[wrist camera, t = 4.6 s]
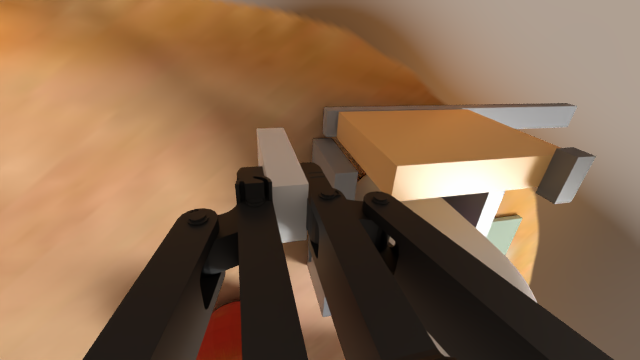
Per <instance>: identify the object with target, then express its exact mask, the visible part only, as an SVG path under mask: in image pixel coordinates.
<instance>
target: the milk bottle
mask: <svg viewBox="0 0 640 360" xmlns="http://www.w3.org/2000/svg"><path fill="white" fill-rule="evenodd" d="M374 191H380V189H379V188H378V187H377V186H376V185H375V183H374V182H373V181H372V180H371V179H370V177H369V176H368V175H365V176H364V177H362V178H361V179H360V180H359V181H358V182H357V185H356V193H355V201H363V198H364V196H365V194H367V193H369V192H374ZM380 192H381V191H380ZM400 202H401V203H403V204H404V205H405V206H407V207H408V208H409V209H411V210H412V211H413V212H415V213H416V214H417V215H419V216H420V217H422V218H423V219H424V220H426V221H427V222H428V223H430V224H431V225H432V226H434V227H435V228H436V229H438V230H439V231H440V232H442V233H443V234H445V235H446V236H447V237H449V238H450V239H451V240H453V241H454V242H455V243H457V244H458V245H459V246H461V247H462V248H463V249H465V250H466V251H468V252H469V253H470V254H472V255H473V256H474V257H476V258H477V259H478V260H480V261H481V262H482V263H484V264H485V265H486V266H488V267H489V268H491V269H492V270H493V271H495V272H496V273H497V274H499V275H500V276H501V277H503V278H504V279H505V280H507V281H508V282H509V283H511V284H512V285H513V286H515V287H516V288H518V289H519V290H520V291H522V292H523V293H524V294H526V295H527V296H528V297H530V298H531V299H532V300H534V301H535V302H536V303H537V301H536V299H535V297H534V295H533V293H532V291H531V289H530V287H529V286H528V284H527V282H526V281H525V279H524V278H523V277H522V275H521V274H520V272H519V271H518V270H517V269H516V267H515V266H514V265H513V264H512V263H511V262H510V261H509V259H508V258H507V257H506V256H505V255H504V254H503V253H502V252H501V251H500V250H499V249H498V248H497V247H495V246H494V245H493V244H492V243H491V242H490V241H489V240H488V239H487V238H486V237H485V236H484V235H483V234H482V233H481V232H479V231H478V230H477V229H476V228H475V227H474V226H473V225H472V224H471V223H470V222H468V221H467V220H466V219H465V218H464V217H463V216H462V215H461V214H460V213H458V212H457V211H456V210H455V209H454V208H453V207H452V206H451V205H449V204H448V203H447V202H446V201H445V200H444V199H443V198H441V197H436V198H426V199H417V200H407V201H400ZM389 242H390V243H391V244H392V245H395V241H394V240H393V239H392V238H391V237H390V239H389ZM428 334H429V333H428ZM429 336H430V337H431V339H432V340H433V342H434V344H435V345H436V347H437V349H438V350H439V351H440V353H441V354H443V355H444V356H447V357H450V356H449V355H448V354H447V353H446V352H445V351H444V350H443V349H442V347H441V346H440V345H439V344H438V343H437V342H436V341H435V340H434V338H433V337H432V336H431V335H430V334H429Z"/></svg>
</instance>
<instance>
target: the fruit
mask: <svg viewBox="0 0 640 360" xmlns="http://www.w3.org/2000/svg"><path fill="white" fill-rule="evenodd" d="M196 360H242V341H241V311H240V301H236V302H232V303H229V304H226V305H223V306H221V307H220V308H218V309H217V310H215V311H214V312H213V313H212V314H211V317H210V320H209V323H208V326H207V329H206V332H205V335H204V338H203V341H202V343H201V346H200V349H199V352H198V355H197V358H196Z"/></svg>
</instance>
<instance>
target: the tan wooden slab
mask: <svg viewBox="0 0 640 360" xmlns="http://www.w3.org/2000/svg"><path fill="white" fill-rule="evenodd" d="M337 139H338V140H339V142H340V143H341V144H342V145H343V146H344V147H345V149H346V150H347V151H348V152H349V153H350V155H351V156H352V157H353V158H354V159H355V161H356V162H357V163H358V164H359V165H360V167H361V168H362V169H363V170H364V171H365V173H366V174H367V175H368V176H369V177H370V179H371V180H372V181H373V182H374V183H375V185H376V186H377V187H378V188H379V189H380V191H381V192H384V193H387V194H390V195H391V196H393V197H395V198H396V199H397V200H399V201H407V200H417V199H426V198H436V197H446V196H456V195H465V194H475V193H485V192H494V191H504V190H514V189H524V188H533V187H538V189H537V191H536V193H537V194H538V195H540V196H542V197H543V198H545V199H547V200H549V201H550V202H552V203H553V204H559V203H568V202H571V201H572V199H573V198H574V196H575V194H576V192H577V190H578V188H579V186H580V185H581V182H582V181H583V179H584V177H585V176H586V174H587V172H588V170H589V168H590V166H591V165H592V163H593V161H594V159H595V157H596V156H594V155H592V154H589V153H586V152H584V151H581V150H579V149H576V148H574V147H570V148H560V147H558V146H556V145H553V144H551V143H548V142H546V141H544V140H541V139H539V138H536V137H534V136H531V135H529V134H526V133H524V132H521V131H519V130H517V129H514V128H512V127H509V126H507V125H505V124H502V123H500V122H497V121H495V120H492V119H490V118H488V117H485V116H483V115H480V114H478V113H475V112H473V111H470V110H468V109H455V110H405V111H354V112H339V115H338V127H337Z"/></svg>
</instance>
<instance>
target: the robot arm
mask: <svg viewBox="0 0 640 360" xmlns="http://www.w3.org/2000/svg"><path fill="white" fill-rule="evenodd" d="M257 147H258V166H259V167H243V168H240V170H239V171H238V172H237V181H236V184H235V189H236V199H237V205H236V206H235V208H233V209H232V210H231V211H229V212H227V213H224V214H221V215H217V214H216V212H215V211H213V210H211V209H204V208H203V209H194V210H191V211H188V212H186V213H184V214H182V215H181V216H180V217H179V218H178V219H177V221H176V222H175V224H174V225H173V227H172V228H171V230H170V231H169V233H168V234H167V236H166V237H165V239H164V240H163V242H162V243H161V245H160V246H159V247H158V249H157V250H156V252H155V253H154V255H153V256H152V258H151V259H150V261H149V262H148V264H147V265H146V267H145V268H144V270H143V271H142V273H141V274H140V276H139V277H138V278H137V280H136V281H135V283H134V284H133V286H132V287H131V289H130V290H129V292H128V293H127V295H126V296H125V298H124V299H123V301H122V302H121V304H120V305H119V307H118V308H117V310H116V311H115V312H114V314H113V315H112V317H111V318H110V320H109V321H108V323H107V324H106V326H105V327H104V329H103V330H102V332H101V333H100V335H99V336H98V338H97V339H96V341H95V342H94V343H93V345H92V346H91V348H90V349H89V351H88V352H87V354H86V355H85V357H84V358H83V360H196V358H197V355H198V352H199V349H200V346H201V343H202V341H203V338H204V335H205V332H206V329H207V326H208V323H209V320H210V317H211V314H212V312H213V309H214V306H215V303H216V300H217V297H218V294H219V291H220V288H221V286H222V283H223V280H224V277H225V270H228V269H230V268H233V267H235V266H238V265H239V281H240V311H241V341H242V360H308V357H307V353H306V348H305V344H304V339H303V335H302V330H301V326H300V321H299V317H298V312H297V308H296V303H295V299H294V294H293V290H292V285H291V281H290V276H289V272H288V268H287V263H286V259H285V254H284V250H283V245H282V243H286V242H294V241H301V240H307V231H308V234H309V257H308V259H309V262H311V257H312V258H313V261H314V264H315V267H316V270H317V273H318V276H319V279H320V282H321V286H322V289H323V292H324V295H325V298H326V301H327V304H328V307H329V310H330V313H331V316H332V319H333V322H334V326H335V329H336V332H337V335H338V338H339V341H340V344H341V347H342V350H343V353H344V356H345V359H346V360H613V359H612V358H611V357H609V356H608V355H607V354H605V353H604V352H602V351H601V350H600V349H599V348H597V347H596V346H595V345H593V344H592V343H591V342H589V341H588V340H586V339H585V338H584V337H582V336H581V335H580V334H578V333H577V332H576V331H574V330H573V329H572V328H570V327H569V326H568V325H566V324H565V323H564V322H562V321H561V320H559V319H558V318H557V317H555V316H554V315H552V314H551V313H550V312H549V311H547V310H546V309H545V308H543V307H542V306H540V305H539V304H538V303H536V302H535V301H534V300H532V299H531V298H530V297H528V296H527V295H526V294H524V293H523V292H522V291H520V290H519V289H518V288H516V287H515V286H513V285H512V284H511V283H509V282H508V281H507V280H505V279H504V278H503V277H501V276H500V275H499V274H497V273H496V272H495V271H493V270H492V269H491V268H489V267H488V266H486V265H485V264H484V263H482V262H481V261H480V260H478V259H477V258H476V257H474V256H473V255H472V254H470V253H469V252H468V251H466V250H465V249H463V248H462V247H461V246H459V245H458V244H457V243H455V242H454V241H453V240H451V239H450V238H449V237H447V236H446V235H445V234H443V233H442V232H440V231H439V230H438V229H436V228H435V227H434V226H432V225H431V224H430V223H428V222H427V221H426V220H424V219H423V218H422V217H420V216H419V215H417V214H416V213H415V212H413V211H412V210H411V209H409V208H408V207H407V206H405V205H404V204H403V203H401V202H400V201H399V200H397V199H396V198H395V197H393V196H391V195H390V194H387V193H384V192H380V191H374V192H369V193H367V194H365V196H364V198H363V201H355V200H348V199H346V198H345V196H344V194H343V193H342V192H341V191H339V190H337V189H335V188H332V186H331V185H330V183H329V181H328V179H327V178H326V177H325V174H324V173H323V171H322V169H321V167H320V166H318V165H317V164H315V163H314V162H310V163H299V161H298V159H297V157H296V154H295V152H294V150H293V148H292V146H291V143H290V141H289V139H288V137H287V134H286V132H285V130H284V128H257ZM390 237H391V238H392V239H393V240H394V241H395V245H392V244H391V243H390V242H389V239H390ZM428 333H429V334H430V335H431V336H432V337H433V338H434V340H435V341H436V342H437V343H438V344H439V345H440V346H441V347H442V349H443V350H444V351H445V352H446V353H447V354H448V355H449V356H450V357H447V356H444V355H443V354H441V353H440V351H439V350H438V349H437V347H436V345H435V344H434V342H433V340H432V339H431V337H430V336H429V334H428Z"/></svg>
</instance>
